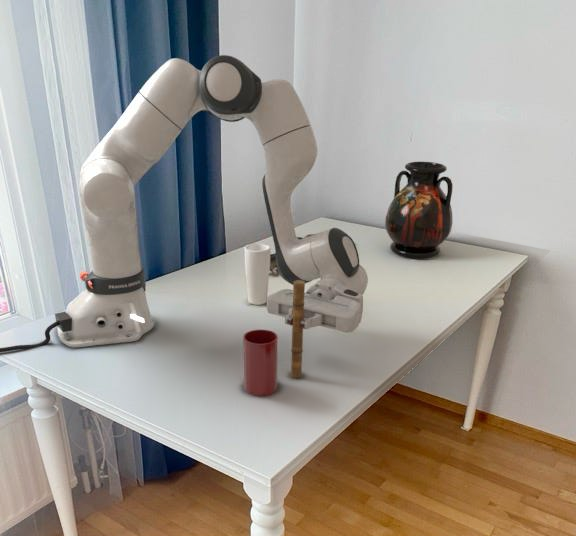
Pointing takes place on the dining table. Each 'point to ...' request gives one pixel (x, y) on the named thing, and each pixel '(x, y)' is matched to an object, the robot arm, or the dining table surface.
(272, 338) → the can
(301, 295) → the tan rod with ring
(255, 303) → the drinking glass
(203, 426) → the dining table surface
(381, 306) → the dining table surface
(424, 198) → the amphora vase
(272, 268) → the eagle figurine
